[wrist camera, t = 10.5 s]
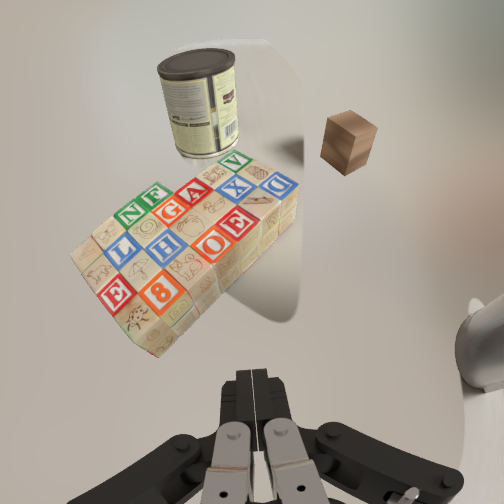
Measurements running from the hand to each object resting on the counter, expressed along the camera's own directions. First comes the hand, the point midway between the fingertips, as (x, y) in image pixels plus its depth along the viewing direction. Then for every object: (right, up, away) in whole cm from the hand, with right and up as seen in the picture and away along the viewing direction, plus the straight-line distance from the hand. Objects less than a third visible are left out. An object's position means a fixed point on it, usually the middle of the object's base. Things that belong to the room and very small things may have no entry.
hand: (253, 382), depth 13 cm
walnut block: (+13, +20, +26) cm, 35 cm away
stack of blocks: (-2, +5, +13) cm, 14 cm away
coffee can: (-7, +24, +29) cm, 38 cm away
